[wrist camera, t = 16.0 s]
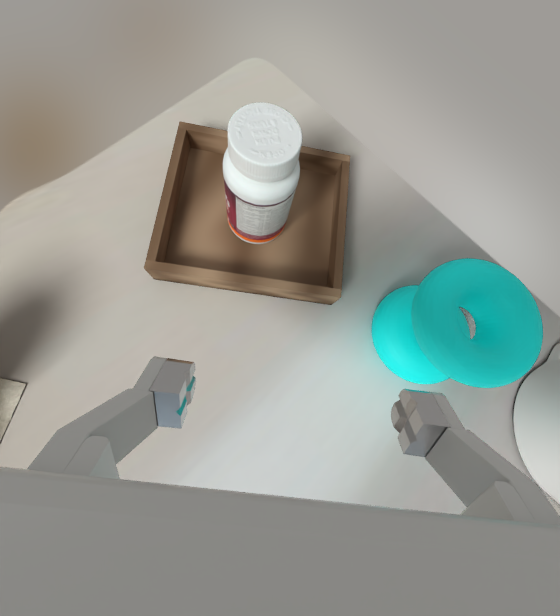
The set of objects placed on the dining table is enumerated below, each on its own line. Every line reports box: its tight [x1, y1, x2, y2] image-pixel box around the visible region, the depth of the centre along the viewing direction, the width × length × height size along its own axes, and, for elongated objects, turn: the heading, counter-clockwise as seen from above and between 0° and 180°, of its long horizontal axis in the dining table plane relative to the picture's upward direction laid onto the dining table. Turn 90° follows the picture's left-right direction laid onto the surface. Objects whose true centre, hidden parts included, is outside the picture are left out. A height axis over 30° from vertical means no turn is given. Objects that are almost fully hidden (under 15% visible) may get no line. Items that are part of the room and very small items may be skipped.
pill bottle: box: [223, 102, 302, 244], centre depth 24 cm, size 6×6×11 cm
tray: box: [144, 122, 350, 305], centre depth 29 cm, size 18×16×3 cm
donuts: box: [372, 258, 543, 388], centre depth 25 cm, size 10×10×10 cm
